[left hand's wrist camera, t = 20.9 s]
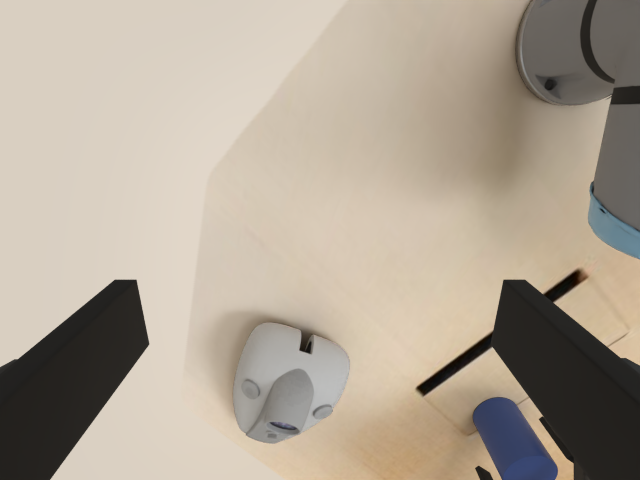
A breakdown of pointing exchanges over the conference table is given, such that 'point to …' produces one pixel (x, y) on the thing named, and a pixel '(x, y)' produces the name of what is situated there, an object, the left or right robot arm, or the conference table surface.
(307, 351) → the projector
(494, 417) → the canister
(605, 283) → the conference table surface
